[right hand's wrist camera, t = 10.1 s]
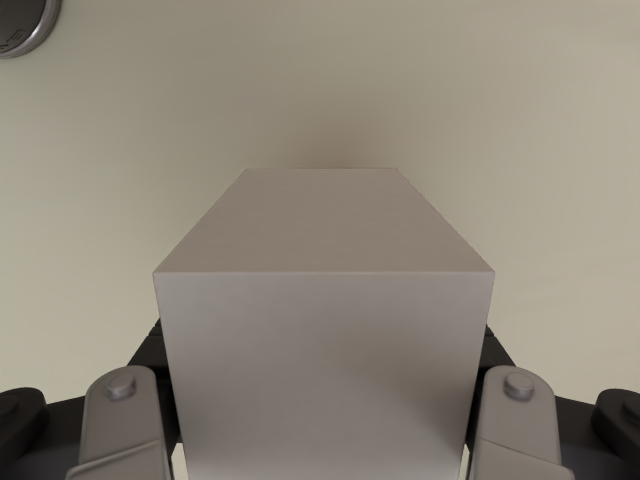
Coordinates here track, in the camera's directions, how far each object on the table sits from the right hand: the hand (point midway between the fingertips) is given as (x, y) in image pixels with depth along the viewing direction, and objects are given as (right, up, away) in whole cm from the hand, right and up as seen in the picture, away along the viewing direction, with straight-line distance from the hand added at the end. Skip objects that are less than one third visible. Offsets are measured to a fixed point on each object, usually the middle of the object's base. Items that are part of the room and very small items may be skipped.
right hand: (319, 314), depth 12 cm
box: (0, -7, +8) cm, 11 cm away
